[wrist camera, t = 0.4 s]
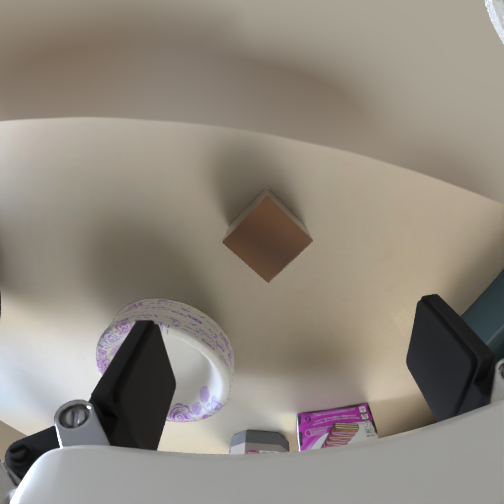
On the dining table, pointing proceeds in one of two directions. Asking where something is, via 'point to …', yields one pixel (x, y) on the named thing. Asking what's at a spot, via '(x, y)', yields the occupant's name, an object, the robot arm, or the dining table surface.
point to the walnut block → (267, 235)
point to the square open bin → (489, 317)
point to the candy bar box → (335, 427)
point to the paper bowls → (180, 354)
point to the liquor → (258, 443)
